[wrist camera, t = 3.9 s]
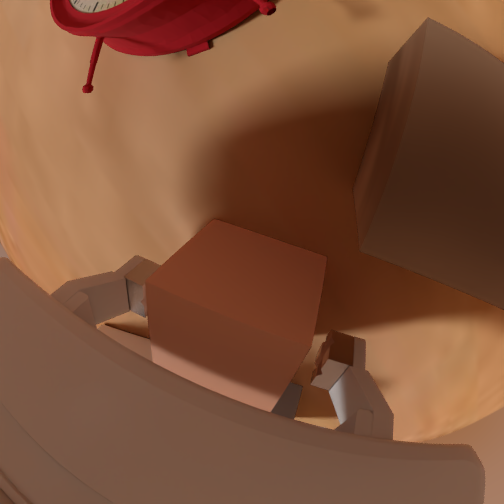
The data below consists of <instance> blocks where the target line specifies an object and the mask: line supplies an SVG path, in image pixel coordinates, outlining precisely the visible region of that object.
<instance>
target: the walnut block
mask: <svg viewBox="0 0 504 504" xmlns="http://www.w3.org/2000/svg"><path fill="white" fill-rule="evenodd" d="M353 195H354V203H355V211H356V220H357V230H358V241H359V251H360V252H363V253H365V254H368V255H371V256H373V257H376V258H379V259H381V260H384V261H387V262H389V263H392V264H395V265H397V266H400V267H402V268H405V269H407V270H410V271H413V272H415V273H418V274H420V275H423V276H425V277H428V278H430V279H433V280H435V281H438V282H440V283H442V284H445V285H447V286H450V287H452V288H454V289H457V290H459V291H462V292H464V293H466V294H469V295H471V296H473V297H476V298H478V299H480V300H483V301H485V302H487V303H489V304H492V305H494V306H496V307H498V308H501V309H503V310H504V63H503V62H501V61H500V60H499V59H497V58H496V57H495V56H493V55H492V54H490V53H489V52H488V51H486V50H485V49H483V48H482V47H480V46H479V45H477V44H475V43H474V42H472V41H471V40H469V39H467V38H466V37H464V36H462V35H461V34H459V33H457V32H455V31H454V30H452V29H450V28H448V27H446V26H444V25H442V24H440V23H438V22H436V21H434V20H432V19H430V18H427V19H426V20H425V21H424V22H423V24H422V25H421V26H420V27H419V28H418V29H417V30H416V31H415V33H414V34H413V35H412V36H411V37H410V38H409V39H408V41H407V42H406V43H405V44H404V45H403V46H402V47H401V49H400V50H399V51H398V52H397V53H396V54H395V55H394V57H393V58H392V59H391V60H390V61H389V62H388V67H387V71H386V75H385V80H384V84H383V88H382V92H381V96H380V100H379V104H378V107H377V111H376V115H375V118H374V122H373V126H372V129H371V132H370V136H369V139H368V143H367V146H366V149H365V152H364V156H363V159H362V162H361V165H360V168H359V171H358V174H357V177H356V180H355V183H354V186H353Z"/></svg>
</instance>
